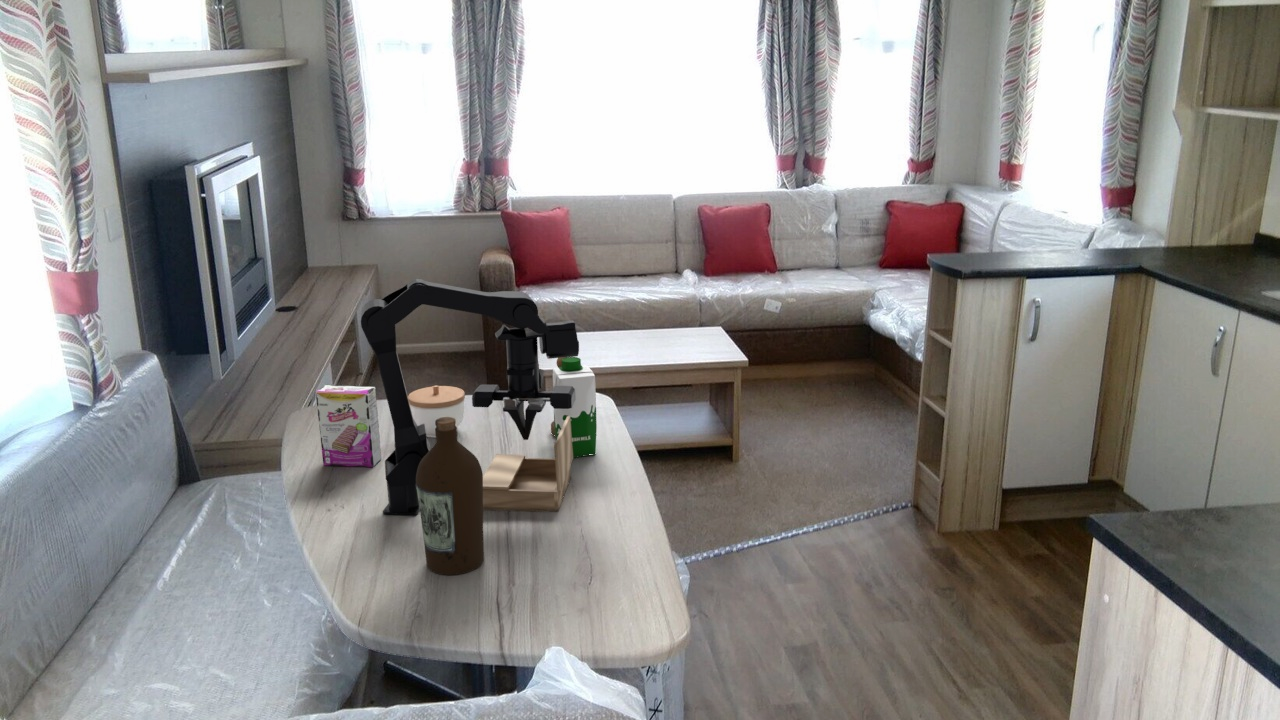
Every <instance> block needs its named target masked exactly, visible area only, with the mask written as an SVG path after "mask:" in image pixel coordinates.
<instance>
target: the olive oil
mask: <svg viewBox="0 0 1280 720" xmlns="http://www.w3.org/2000/svg"><path fill="white" fill-rule="evenodd" d="M455 424H456V420H455V419H454V418H452V417H442V418H439V419H437V420H436V421H435V425H436V428H435V434H436V438H435V441H436V442H435V443H434V444H433V446H432V447H430V451H429V452H428V453H427V454H426V455H425V456H424V457H423V459H422V460H421V461H420V463H419V465H418V469H417V473H416V489H417V494H418V501H419V508H420V511H419V513H420V521H421V529H422V535H423V536H422V537H423V543H424V551H425V552H424V553H425V554H424V555H425V562H426V566H427V569H429V570H430V571H432V572H433V573H435V574H439V575H443V576H454V575H455V576H456V575H462V574H466V573H469V572H472V571H475V570H476V569H478V568H479V567H480V566H481V565H482V564H483V562H484V560H485V552H484V551H485V550H484V548H485V547H484V543H485V542H484V510H483V475H484V474H483V470H482V466H481V464H480V461H479V460H478V458H477V456H476V455H475V454H474V453H472V452H471V450H469V449H468V448H466V446H464V445H463V444H462V443H461V442H459V440H458V428H457V427H456V426H455Z"/></svg>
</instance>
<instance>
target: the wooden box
mask: <svg viewBox="0 0 1280 720" xmlns="http://www.w3.org/2000/svg"><path fill="white" fill-rule="evenodd" d="M571 467H572V466H570V468H569V471H568V473H567V476H566V478H565V481H564V484H563V486H562V489H561V491H557V480H556V467H555V457H554V458H551V457H549V458H548V457H547V458H546V457H545V458H544V457H525V459H524V461H523V463H522V465H521V467H520V469H519V471H518V473H517V475H516V476H515V478H514V480H513V482H512V484H511V486H510V488H509V490H489V489H483V511H509V512H510V511H515V512H516V511H519V512H548V511H558V510H559V509H560V508H559V507H561V504H562V503H563V500H564V497H565V495H564V494H566V492H565V491H567V489H568V487H569V484H568V483H570V481H571V479H572V472H571V471H572V470H571ZM570 478H571V479H570ZM569 480H570V481H569ZM567 486H568V487H567ZM566 488H567V489H566ZM563 496H564V497H563ZM562 499H563V500H562ZM561 502H562V503H561ZM559 511H560V510H559ZM559 511H558V512H559Z"/></svg>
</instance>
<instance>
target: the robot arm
mask: <svg viewBox="0 0 1280 720" xmlns="http://www.w3.org/2000/svg"><path fill="white" fill-rule="evenodd" d="M422 305H426V306H430V307H436V308H443V309H446V310H447V309H448V310H454V311H459V312H466V313H472V314H477V315H483V316H486V317H489V318H492V319H494V320H496V321H498V322H500V323H503V324H502V326H501V327H500V328H499V329H498V330H497V331H496V332H495V333H494V335H495V337H496V340H497V341H505V342H506V361H507V367H506V380H507V383H508V386H507V387H508V389H507V390H500V387H499V384H483V383H482V384H480V385H479V386H478V387H477V388H476V389H475V390H474V392H473V393H472V396H471V403H472V407H474V408H489V407H490V406H491V405H492V404H493V402H495V401H502V402H503V407H502V412H505V413H506V412H507V414H508V415H509V416H510V418H511V419H512V421H513V422H514V424H515V425H516V428H517V429H518V431H519V433H520V435H521V437H522V439H523V440H524V441H528V440H529V438H530V435H531V432H532V428H533V424H534V421H535V418H536V415H537V413H542V411H543V409H544V408H545V406H546V403H549V405H550V406H551V407H552V408H553V410H554V409H570V408H572V406H573V404H574V402H575V400H576V393H575V389H574V388H573V387H572V386H554V388H553V387H552V389H551V391H549V390H547V391H546V390H543V391H542V390H541V389H542V388H543V386H544V374H545V373H544V371H545V370H544V369H541V368H540V365H539V362H540V361H539V353H538V352H539V351H540V354H541V355H543V354H545V355H546V358H547V359H548V360H551V359H558V358H564V357H578V356H579V354H580V353H579V352H580V342H579V340H578V334H577V333H578V332H577V328H576V323H575V321H574V320H572V319H569V320H568V319H567V320H564V321H559V322H558V321H557V322H546V321H545V319H544V318H543V317H542V316H539V309H538V306H537V304H536V303H535V301H534V300H533V299H532V298H531V295H529V294H527V292H524V291H519V290H518V291H517V290H516V291H512V290H511V291H510V290H507V291H506V290H502V291H493V292H491V291H487V292H486V291H481V290H476V289H470V288H465V287H460V286H459V287H458V286H455V285H448V284H444V283H438V282H432V281H426V280H424V279H422V278H414V279H412V280H410V281H409V282H407V283H406V284H405V285H403V286H401V287H399V288H398V289H395V290H394V291H392V292H389V293H388V294H387V295H385V296H384V297H382V298H381V299H380V298H377V299H375V298H374V299H372V300H369V301H367V302H366V303H365V304H364V305H363V306H362V309H361V311H360V327H361V329H362V331H363V334H364V336H365V338H366V339H367V343H368V344H369V347H370V348H371V350H372V352H373V354H374V355H375V357H376V361H377V365H378V369H379V373H380V377H381V381H382V385H383V389H384V393H385V397H386V401H387V405H388V409H389V413H390V416H391V420H392V424H393V432H394V434H393V435H394V437H393V438H394V450H393V451H392V452H391V453H390V454H389V456H388V457H387V458H386V459H385V460H384V466H385V467H384V470H385V473H384V474H385V480H386V488H387V501H388V503H387V504H386V506H385V508H384V509H382V514H383V515H409V516H411V515H412V516H414V515H418V513H420V508H419V501H418V494H417V489H416V473H417V469H418V465H419V463H420V461H421V460H422V459H423V457H424V456H425V455H426V454H427V453H428V452H429V451H430V449H431V445H430V441H429V439H428V437H427V436H426V430H425V424H421V425H419V426H417V424H416V422H415V421H414V419H413V416H412V412H411V408H410V404H409V400H408V392H407V388H406V384H405V380H404V376H403V373H402V368H401V363H400V360H399V355H398V351H397V336H396V335H397V333H396V325H397V324H398V323H400V322H401V321H403V320H404V319H405V318H407V317H408V316H409V315H410V314H412V313H413V312H414V311H415V310H416V309H417V308H419V307H420V306H422ZM506 325H508V326H510V327H511V328H510V327H508V326H506ZM526 329H529V330H526ZM538 338H539V346H538ZM538 347H539V349H540V350H539V351H538ZM525 402H527V404H528V405H527V407H526V408H525Z"/></svg>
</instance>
